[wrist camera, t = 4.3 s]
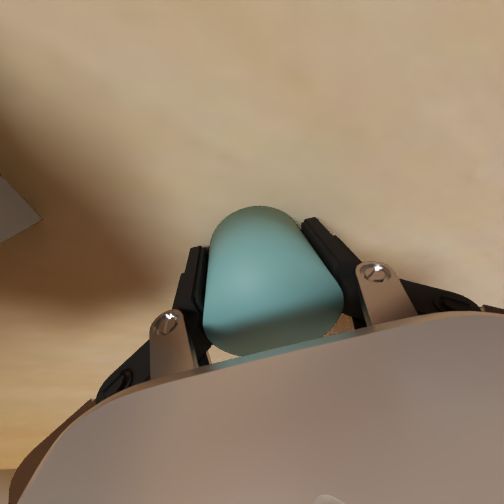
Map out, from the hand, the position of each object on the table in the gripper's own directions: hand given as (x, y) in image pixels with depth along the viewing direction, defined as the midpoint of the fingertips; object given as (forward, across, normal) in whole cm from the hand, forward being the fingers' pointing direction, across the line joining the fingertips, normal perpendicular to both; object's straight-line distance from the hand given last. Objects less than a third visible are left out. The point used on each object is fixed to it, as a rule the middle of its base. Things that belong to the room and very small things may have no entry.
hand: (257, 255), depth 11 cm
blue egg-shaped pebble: (+1, 0, 0) cm, 1 cm away
